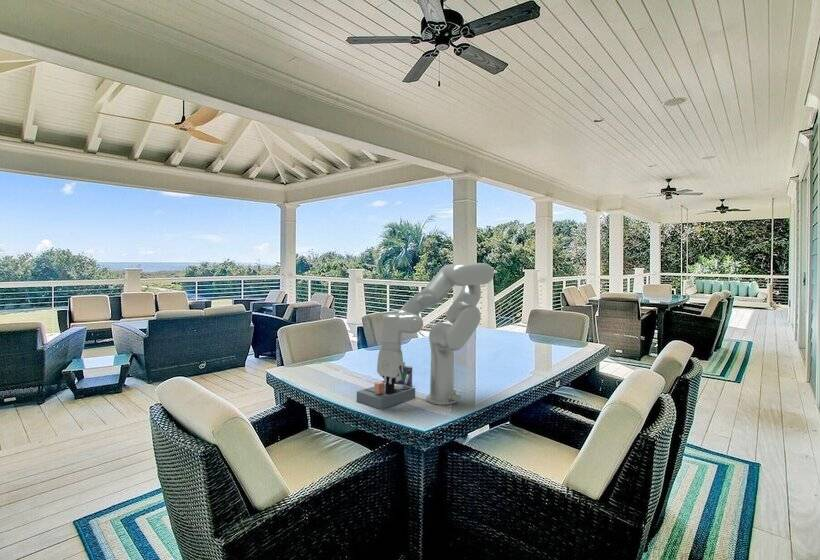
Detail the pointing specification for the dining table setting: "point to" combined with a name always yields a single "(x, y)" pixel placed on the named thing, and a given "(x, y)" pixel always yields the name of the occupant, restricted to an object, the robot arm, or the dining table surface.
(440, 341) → the robot arm
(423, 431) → the dining table surface
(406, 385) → the flask
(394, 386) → the rocker
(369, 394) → the grey low block
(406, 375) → the toggle lever
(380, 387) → the slider knob
